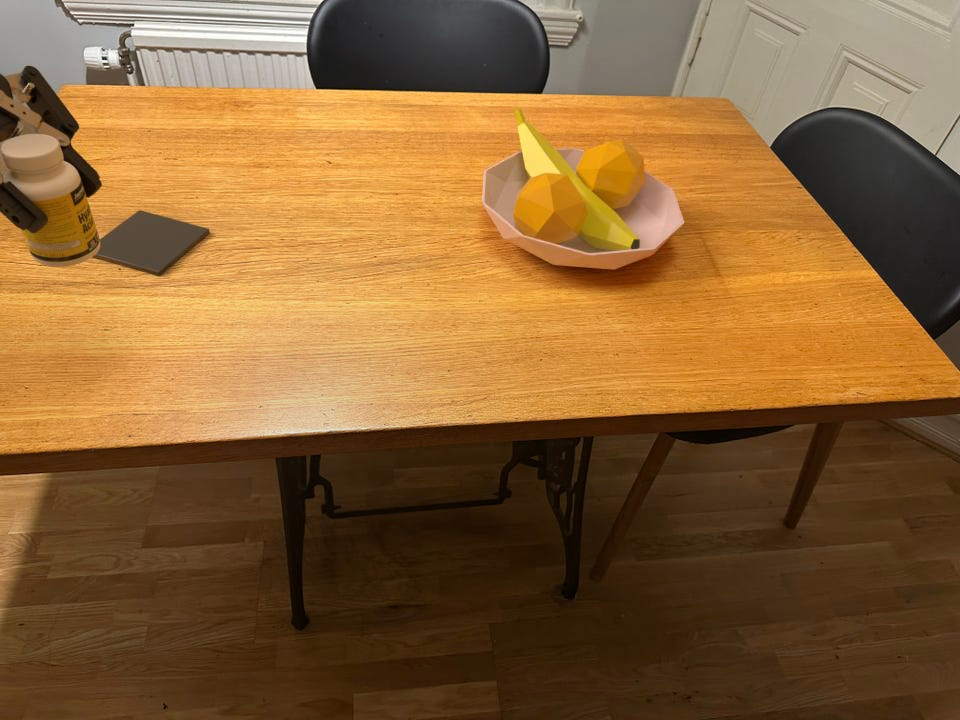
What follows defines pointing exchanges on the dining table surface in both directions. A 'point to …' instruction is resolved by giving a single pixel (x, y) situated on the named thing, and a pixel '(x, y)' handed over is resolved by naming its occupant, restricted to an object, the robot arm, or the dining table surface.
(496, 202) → the fruit bowl
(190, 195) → the dining table surface
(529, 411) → the dining table surface
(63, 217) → the supplement bottle
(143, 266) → the coaster
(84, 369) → the dining table surface
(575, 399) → the dining table surface
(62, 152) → the robot arm
